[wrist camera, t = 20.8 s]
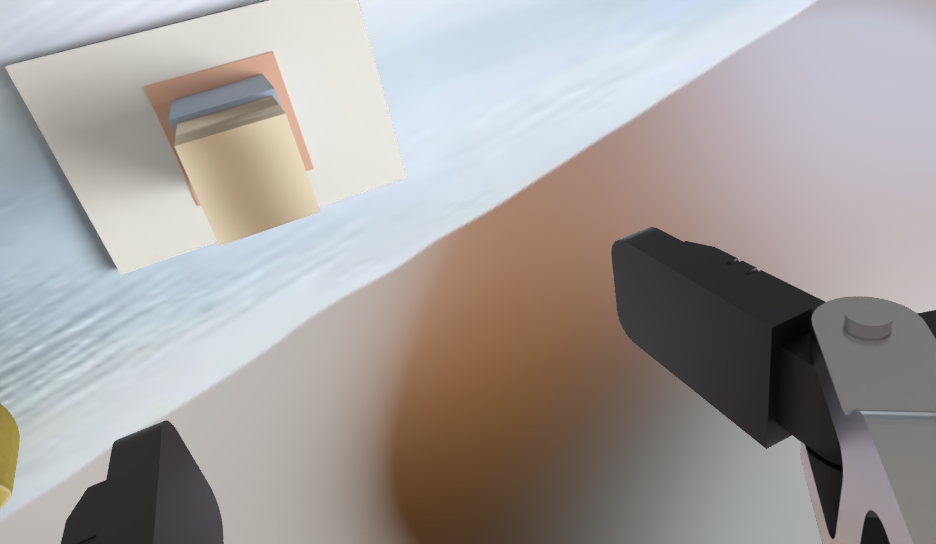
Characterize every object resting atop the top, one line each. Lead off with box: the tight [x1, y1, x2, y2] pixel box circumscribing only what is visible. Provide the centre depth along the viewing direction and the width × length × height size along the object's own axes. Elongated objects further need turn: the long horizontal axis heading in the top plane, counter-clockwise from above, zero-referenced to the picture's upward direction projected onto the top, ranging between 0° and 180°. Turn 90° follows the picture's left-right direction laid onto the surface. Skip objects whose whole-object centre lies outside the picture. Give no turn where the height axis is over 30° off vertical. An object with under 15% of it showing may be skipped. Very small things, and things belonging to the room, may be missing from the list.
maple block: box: [174, 96, 320, 246], centre depth 28 cm, size 4×4×5 cm
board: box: [5, 0, 407, 275], centre depth 36 cm, size 18×12×1 cm, turn 102°
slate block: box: [168, 74, 282, 135], centre depth 33 cm, size 5×5×6 cm
